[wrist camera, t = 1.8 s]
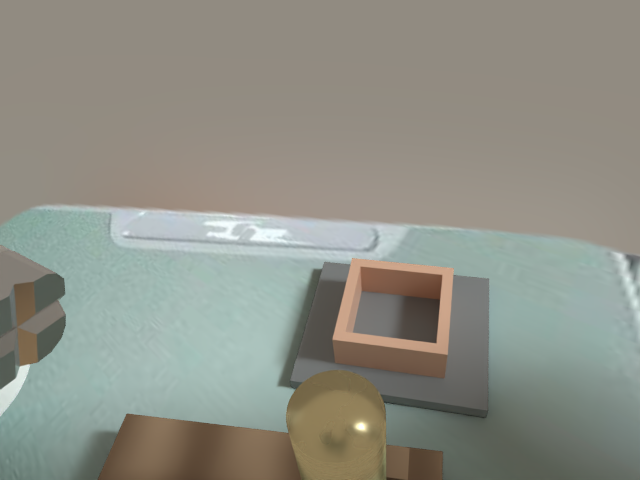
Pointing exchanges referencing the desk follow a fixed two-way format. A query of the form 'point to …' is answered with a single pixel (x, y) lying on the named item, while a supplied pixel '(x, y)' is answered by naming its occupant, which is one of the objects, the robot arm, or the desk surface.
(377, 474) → the axle
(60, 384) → the desk surface
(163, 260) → the desk surface
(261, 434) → the wooden block with recess
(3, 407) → the canister
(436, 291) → the stand
